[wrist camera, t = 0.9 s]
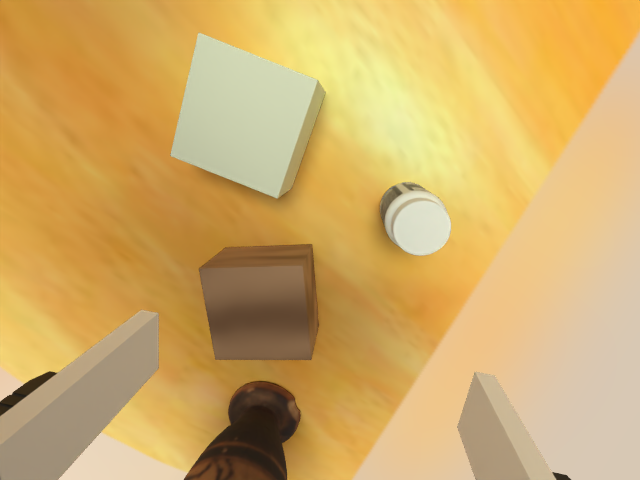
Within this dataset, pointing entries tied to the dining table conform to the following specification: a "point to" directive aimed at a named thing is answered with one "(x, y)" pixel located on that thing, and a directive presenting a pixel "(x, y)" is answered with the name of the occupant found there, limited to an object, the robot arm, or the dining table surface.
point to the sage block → (245, 117)
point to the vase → (251, 437)
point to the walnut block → (261, 302)
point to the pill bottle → (415, 219)
